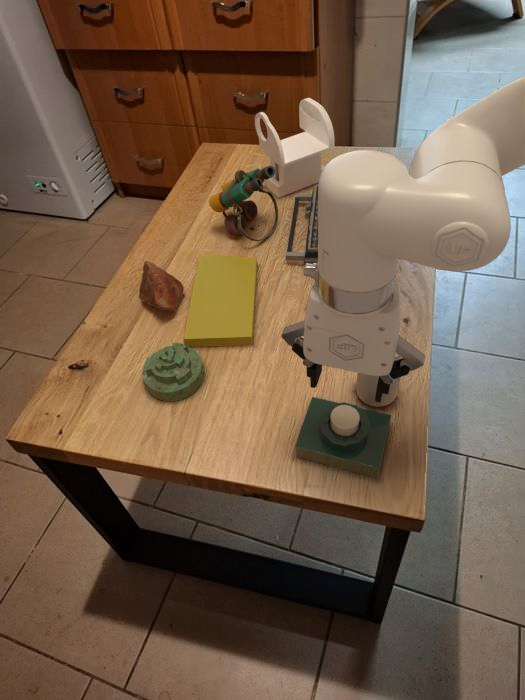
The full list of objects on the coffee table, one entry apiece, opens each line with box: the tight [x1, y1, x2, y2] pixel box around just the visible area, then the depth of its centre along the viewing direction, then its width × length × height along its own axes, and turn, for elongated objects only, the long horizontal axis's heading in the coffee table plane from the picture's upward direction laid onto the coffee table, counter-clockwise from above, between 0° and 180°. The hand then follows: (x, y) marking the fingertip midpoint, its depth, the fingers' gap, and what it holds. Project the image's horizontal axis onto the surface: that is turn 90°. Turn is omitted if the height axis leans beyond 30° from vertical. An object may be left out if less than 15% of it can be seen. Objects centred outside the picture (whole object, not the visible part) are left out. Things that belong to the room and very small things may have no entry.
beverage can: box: [355, 334, 403, 408], centre depth 72 cm, size 6×6×12 cm
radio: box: [285, 184, 318, 266], centre depth 103 cm, size 24×5×20 cm
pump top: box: [330, 405, 360, 437], centre depth 68 cm, size 4×4×2 cm
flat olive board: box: [183, 253, 259, 348], centre depth 93 cm, size 12×2×24 cm
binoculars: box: [208, 165, 279, 242], centre depth 103 cm, size 14×14×15 cm
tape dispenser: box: [254, 97, 336, 199], centre depth 113 cm, size 14×13×18 cm
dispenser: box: [294, 396, 392, 479], centre depth 70 cm, size 12×9×5 cm
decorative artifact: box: [141, 342, 205, 402], centre depth 80 cm, size 10×7×10 cm
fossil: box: [138, 260, 185, 311], centre depth 93 cm, size 13×8×10 cm
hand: (347, 385), depth 61 cm, fingers open, 7 cm apart
